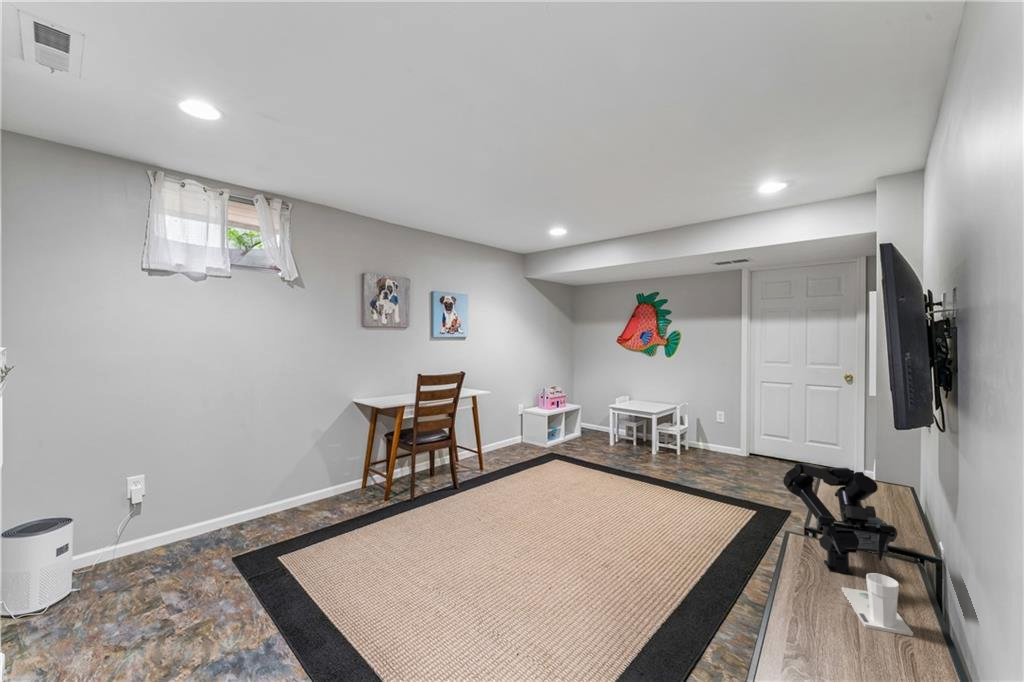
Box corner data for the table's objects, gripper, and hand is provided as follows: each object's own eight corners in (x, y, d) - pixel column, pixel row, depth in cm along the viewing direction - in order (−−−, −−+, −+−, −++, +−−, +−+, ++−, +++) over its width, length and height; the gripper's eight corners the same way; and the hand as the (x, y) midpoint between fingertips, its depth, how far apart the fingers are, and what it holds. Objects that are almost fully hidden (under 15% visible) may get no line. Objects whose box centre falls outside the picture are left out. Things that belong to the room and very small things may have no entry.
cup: (866, 610, 119) (865, 570, 119) (898, 619, 115) (897, 578, 115) (867, 622, 114) (866, 581, 114) (900, 632, 109) (899, 590, 109)
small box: (878, 544, 157) (878, 516, 157) (889, 553, 150) (888, 523, 150) (844, 541, 160) (844, 513, 160) (853, 550, 153) (853, 521, 153)
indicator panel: (841, 589, 130) (841, 586, 130) (882, 596, 126) (882, 593, 126) (865, 627, 113) (865, 623, 113) (913, 636, 109) (913, 632, 109)
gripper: (817, 489, 133) (823, 539, 124) (894, 498, 125) (909, 553, 115) (813, 505, 140) (819, 554, 131) (887, 515, 132) (899, 568, 122)
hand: (860, 557), depth 124 cm, fingers open, 9 cm apart
